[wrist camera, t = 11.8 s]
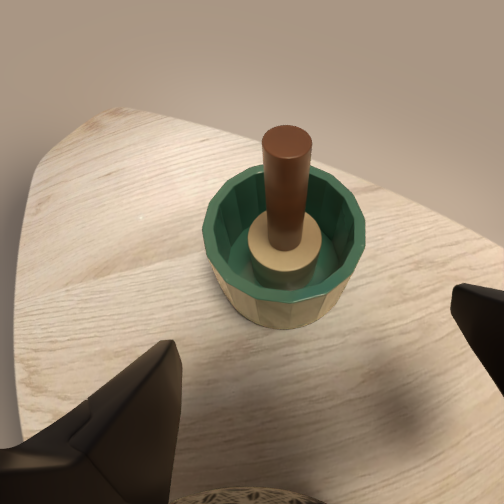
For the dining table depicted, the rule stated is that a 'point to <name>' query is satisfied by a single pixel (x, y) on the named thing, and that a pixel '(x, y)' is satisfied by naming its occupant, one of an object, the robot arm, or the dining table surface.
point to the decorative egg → (247, 497)
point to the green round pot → (238, 256)
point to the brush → (285, 214)
